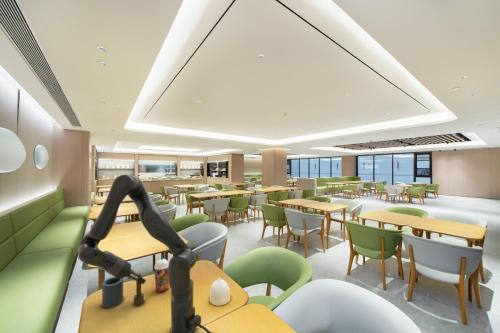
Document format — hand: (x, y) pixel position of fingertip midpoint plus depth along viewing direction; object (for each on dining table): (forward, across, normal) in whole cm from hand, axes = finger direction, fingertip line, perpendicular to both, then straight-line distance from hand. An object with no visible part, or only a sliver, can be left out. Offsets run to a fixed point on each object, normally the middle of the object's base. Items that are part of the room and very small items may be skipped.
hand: (142, 281), depth 111 cm
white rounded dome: (+24, -32, -9) cm, 41 cm away
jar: (+1, +12, +14) cm, 18 cm away
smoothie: (+16, +1, -1) cm, 16 cm away
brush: (+6, 0, +9) cm, 11 cm away
